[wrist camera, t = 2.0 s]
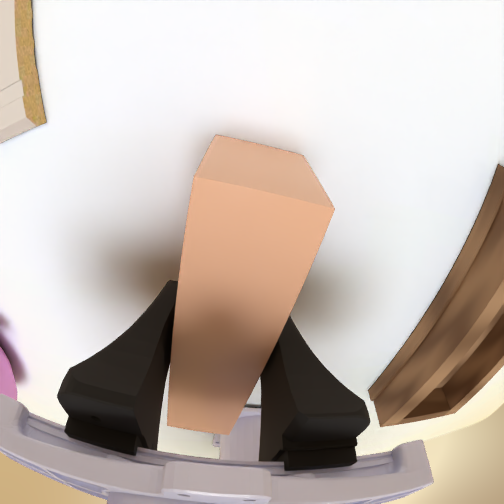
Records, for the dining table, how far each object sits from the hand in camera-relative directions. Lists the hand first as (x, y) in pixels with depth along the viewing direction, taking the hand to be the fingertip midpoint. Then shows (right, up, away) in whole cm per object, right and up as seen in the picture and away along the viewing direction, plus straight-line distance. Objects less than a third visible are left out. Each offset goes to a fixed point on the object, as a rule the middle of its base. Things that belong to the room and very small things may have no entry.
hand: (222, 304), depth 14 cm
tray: (+17, -2, +3) cm, 17 cm away
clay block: (0, +1, +1) cm, 2 cm away
